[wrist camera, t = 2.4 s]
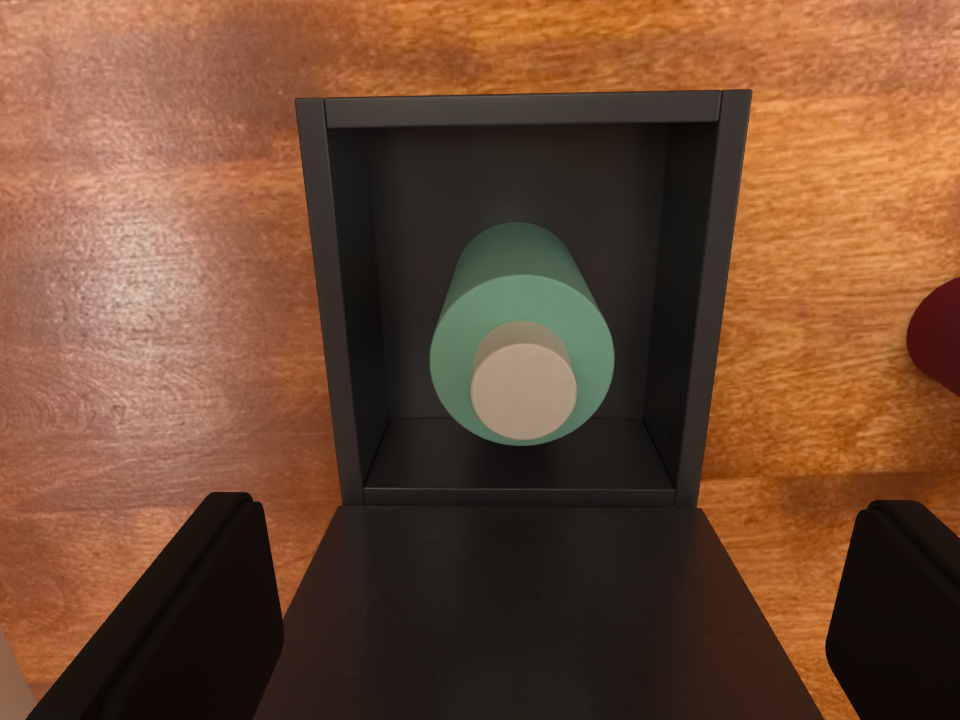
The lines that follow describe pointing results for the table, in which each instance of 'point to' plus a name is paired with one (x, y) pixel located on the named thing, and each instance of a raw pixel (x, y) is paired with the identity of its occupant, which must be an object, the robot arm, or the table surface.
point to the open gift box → (591, 241)
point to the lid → (528, 621)
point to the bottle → (520, 339)
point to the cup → (938, 336)
